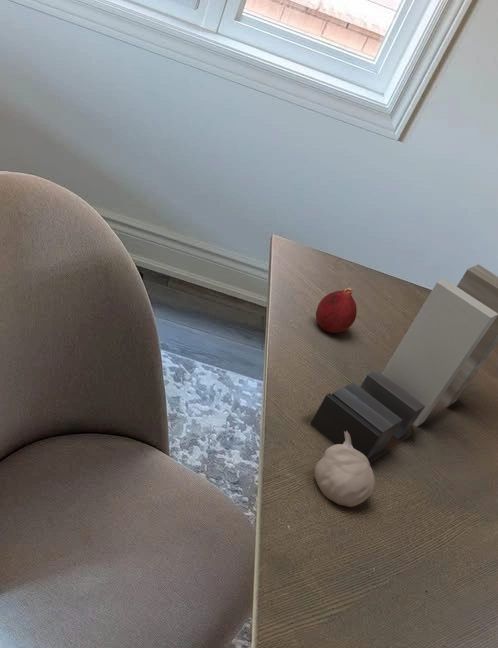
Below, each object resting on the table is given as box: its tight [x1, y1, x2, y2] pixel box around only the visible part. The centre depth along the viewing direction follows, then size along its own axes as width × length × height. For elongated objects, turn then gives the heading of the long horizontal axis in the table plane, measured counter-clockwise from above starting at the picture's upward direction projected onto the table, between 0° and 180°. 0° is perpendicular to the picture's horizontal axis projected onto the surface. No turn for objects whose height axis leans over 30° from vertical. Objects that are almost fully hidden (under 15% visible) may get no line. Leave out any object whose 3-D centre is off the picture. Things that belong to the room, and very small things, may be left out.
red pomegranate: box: [315, 287, 358, 334], centre depth 113 cm, size 6×6×8 cm
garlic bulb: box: [313, 431, 376, 508], centre depth 87 cm, size 7×6×8 cm
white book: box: [381, 278, 498, 427], centre depth 98 cm, size 2×8×18 cm, turn 43°
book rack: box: [307, 264, 498, 464], centre depth 97 cm, size 26×9×19 cm, turn 133°
